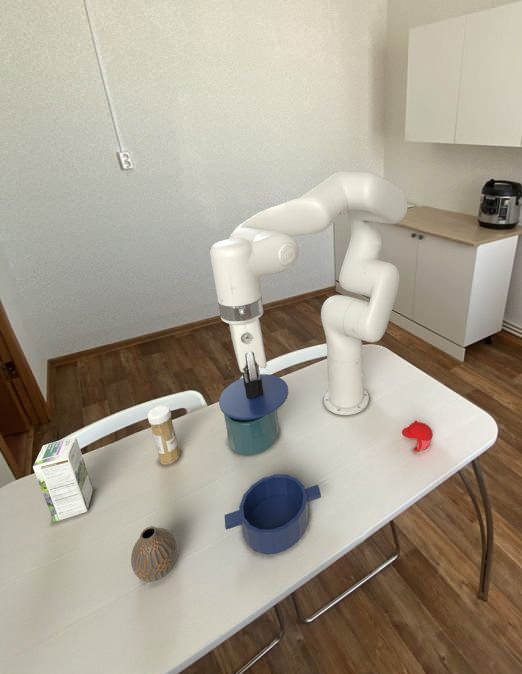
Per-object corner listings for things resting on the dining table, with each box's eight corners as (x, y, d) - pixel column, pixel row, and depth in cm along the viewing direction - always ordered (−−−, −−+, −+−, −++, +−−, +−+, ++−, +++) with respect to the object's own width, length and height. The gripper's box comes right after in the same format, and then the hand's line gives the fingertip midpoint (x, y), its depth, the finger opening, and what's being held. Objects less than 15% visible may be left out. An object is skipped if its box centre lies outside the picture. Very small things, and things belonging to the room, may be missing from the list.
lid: (218, 387, 80) (212, 361, 78) (281, 372, 85) (278, 346, 82) (221, 430, 68) (216, 400, 66) (295, 410, 73) (292, 381, 71)
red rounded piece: (419, 430, 96) (420, 410, 94) (437, 443, 92) (438, 423, 90) (396, 445, 92) (396, 425, 90) (414, 460, 87) (415, 440, 85)
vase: (134, 597, 62) (121, 561, 59) (138, 557, 68) (127, 522, 65) (180, 578, 65) (170, 543, 62) (180, 541, 71) (171, 507, 68)
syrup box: (62, 499, 79) (40, 444, 74) (95, 489, 82) (76, 435, 77) (53, 523, 75) (29, 466, 69) (89, 511, 77) (68, 456, 72)
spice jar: (182, 459, 89) (171, 412, 84) (160, 468, 86) (148, 421, 82) (178, 447, 92) (168, 401, 88) (158, 455, 90) (145, 409, 85)
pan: (226, 509, 77) (222, 489, 75) (313, 482, 82) (311, 462, 81) (230, 571, 66) (225, 549, 64) (329, 534, 72) (328, 513, 70)
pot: (247, 415, 102) (243, 387, 99) (287, 425, 99) (284, 396, 96) (218, 448, 92) (212, 418, 89) (261, 460, 88) (257, 429, 85)
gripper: (269, 322, 64) (280, 411, 70) (256, 288, 78) (266, 365, 84) (222, 331, 61) (238, 423, 68) (217, 294, 75) (231, 373, 82)
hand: (253, 390), depth 76 cm, fingers closed on lid, 2 cm apart
